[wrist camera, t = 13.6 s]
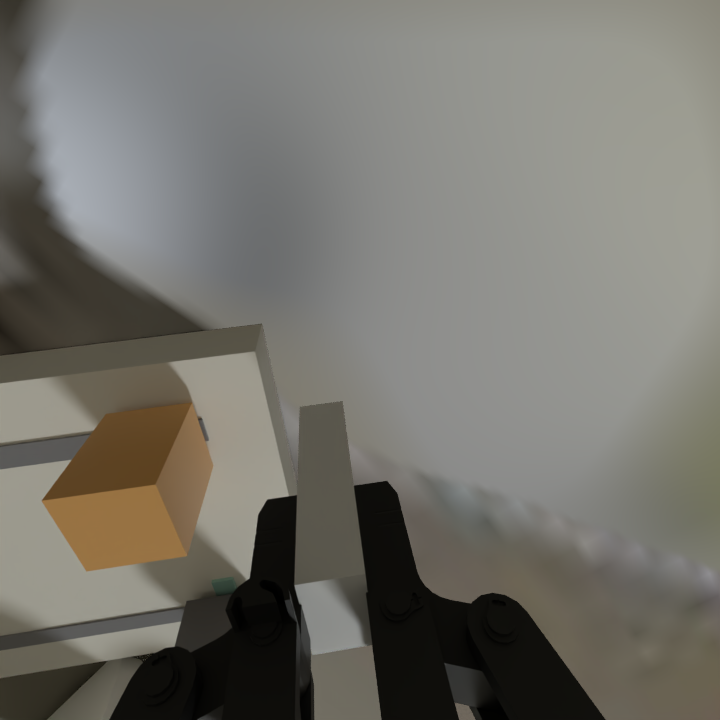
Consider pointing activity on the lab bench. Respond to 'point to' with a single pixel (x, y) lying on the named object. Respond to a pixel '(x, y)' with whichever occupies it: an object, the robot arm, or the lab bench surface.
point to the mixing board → (62, 442)
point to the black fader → (203, 622)
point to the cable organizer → (99, 692)
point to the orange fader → (134, 488)
